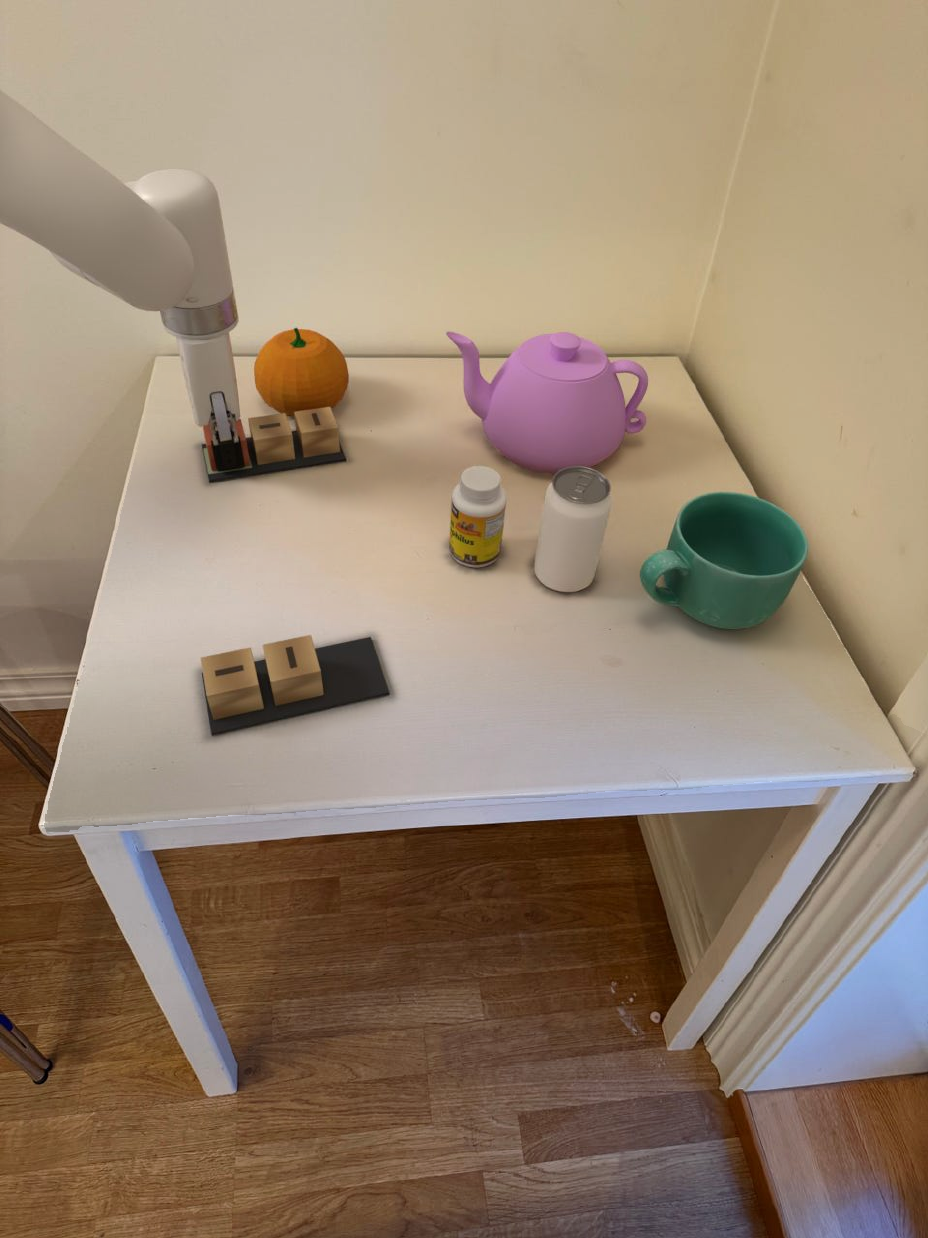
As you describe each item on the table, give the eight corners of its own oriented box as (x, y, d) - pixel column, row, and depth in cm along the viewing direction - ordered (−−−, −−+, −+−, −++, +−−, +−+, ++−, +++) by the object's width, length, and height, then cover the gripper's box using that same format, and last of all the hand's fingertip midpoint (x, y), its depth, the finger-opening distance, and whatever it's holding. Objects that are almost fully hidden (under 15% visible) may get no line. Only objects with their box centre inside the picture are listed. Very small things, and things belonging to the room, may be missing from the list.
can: (524, 583, 87) (538, 493, 78) (544, 545, 91) (560, 456, 82) (583, 602, 85) (604, 514, 76) (601, 563, 89) (623, 474, 80)
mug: (739, 549, 92) (767, 482, 85) (799, 632, 84) (835, 566, 77) (602, 574, 88) (618, 505, 81) (651, 663, 80) (675, 596, 73)
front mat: (211, 736, 72) (211, 733, 72) (202, 675, 77) (201, 672, 76) (389, 694, 76) (389, 692, 76) (370, 639, 80) (370, 636, 80)
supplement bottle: (438, 547, 90) (441, 472, 82) (479, 528, 92) (485, 453, 84) (469, 577, 87) (475, 502, 79) (510, 557, 89) (520, 482, 82)
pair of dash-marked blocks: (257, 465, 97) (253, 439, 94) (252, 443, 100) (247, 417, 97) (340, 452, 99) (338, 426, 97) (332, 431, 102) (330, 405, 99)
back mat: (209, 482, 95) (208, 479, 95) (202, 446, 99) (201, 443, 99) (346, 461, 99) (346, 457, 98) (333, 427, 103) (333, 424, 103)
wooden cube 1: (213, 720, 73) (206, 695, 70) (207, 682, 76) (200, 656, 73) (264, 709, 74) (258, 684, 71) (256, 671, 77) (250, 646, 74)
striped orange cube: (211, 471, 95) (206, 445, 93) (207, 448, 98) (201, 422, 95) (250, 465, 97) (246, 439, 94) (244, 443, 99) (240, 417, 97)
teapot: (632, 403, 110) (655, 305, 100) (648, 487, 98) (676, 387, 88) (445, 392, 110) (448, 293, 100) (439, 476, 98) (442, 373, 88)
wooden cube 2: (275, 706, 74) (270, 681, 71) (267, 669, 77) (262, 643, 74) (324, 695, 75) (320, 670, 72) (314, 659, 78) (310, 633, 75)
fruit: (238, 405, 105) (225, 333, 98) (299, 366, 112) (292, 295, 105) (309, 439, 101) (302, 366, 94) (368, 396, 108) (365, 325, 101)
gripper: (153, 273, 88) (187, 418, 101) (167, 355, 77) (203, 505, 91) (224, 266, 90) (249, 409, 103) (248, 346, 79) (272, 494, 93)
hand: (227, 453), depth 97 cm, fingers closed on striped orange cube, 4 cm apart
